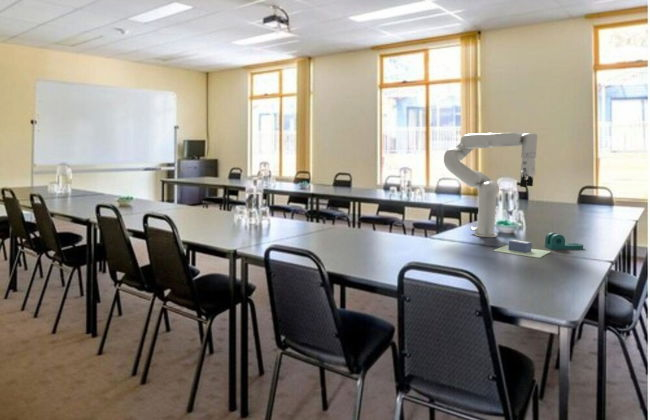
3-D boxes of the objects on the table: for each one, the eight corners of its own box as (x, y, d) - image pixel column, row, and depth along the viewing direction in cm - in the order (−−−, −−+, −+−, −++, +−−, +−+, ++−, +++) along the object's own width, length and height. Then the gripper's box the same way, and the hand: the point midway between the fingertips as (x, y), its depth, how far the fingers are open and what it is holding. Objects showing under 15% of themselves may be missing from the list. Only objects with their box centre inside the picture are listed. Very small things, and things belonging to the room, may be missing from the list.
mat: (493, 251, 234) (493, 250, 234) (506, 245, 247) (506, 245, 247) (539, 258, 220) (539, 257, 219) (550, 252, 233) (550, 251, 233)
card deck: (525, 252, 229) (526, 243, 228) (508, 249, 236) (508, 240, 235) (531, 251, 232) (531, 242, 232) (513, 248, 239) (514, 239, 239)
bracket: (551, 249, 239) (552, 234, 238) (544, 247, 246) (545, 232, 245) (585, 249, 240) (587, 234, 239) (578, 247, 247) (579, 232, 246)
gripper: (529, 155, 252) (527, 187, 254) (540, 155, 264) (538, 186, 267) (515, 155, 257) (513, 186, 259) (527, 155, 269) (525, 185, 272)
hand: (526, 186), depth 263 cm, fingers open, 9 cm apart
